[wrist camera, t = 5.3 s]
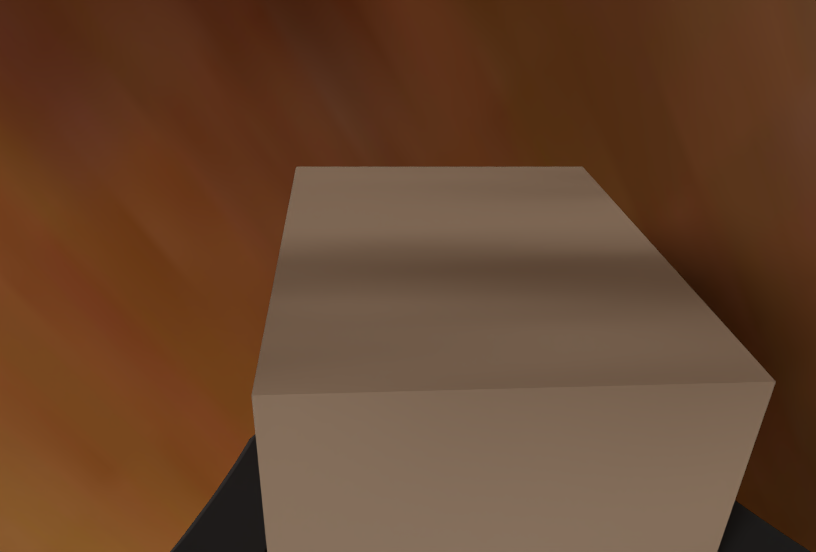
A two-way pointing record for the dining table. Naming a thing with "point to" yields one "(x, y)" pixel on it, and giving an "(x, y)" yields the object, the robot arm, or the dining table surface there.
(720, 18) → the dining table surface
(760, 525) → the robot arm
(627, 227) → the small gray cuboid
